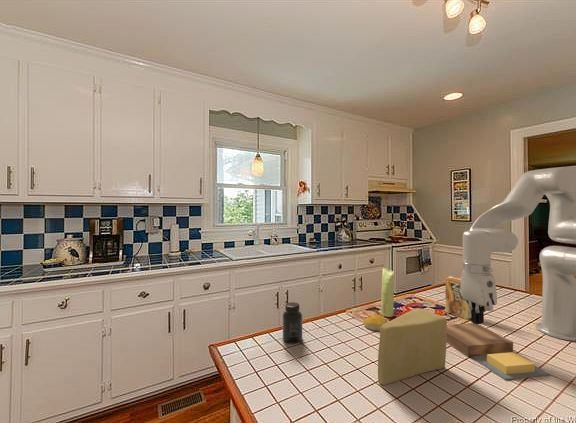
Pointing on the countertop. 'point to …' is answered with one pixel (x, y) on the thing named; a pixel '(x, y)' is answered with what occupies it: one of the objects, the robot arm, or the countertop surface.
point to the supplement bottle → (292, 323)
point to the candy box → (456, 299)
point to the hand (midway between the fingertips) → (477, 322)
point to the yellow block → (510, 363)
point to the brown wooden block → (476, 340)
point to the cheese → (411, 345)
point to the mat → (484, 362)
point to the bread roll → (374, 322)
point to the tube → (387, 293)
